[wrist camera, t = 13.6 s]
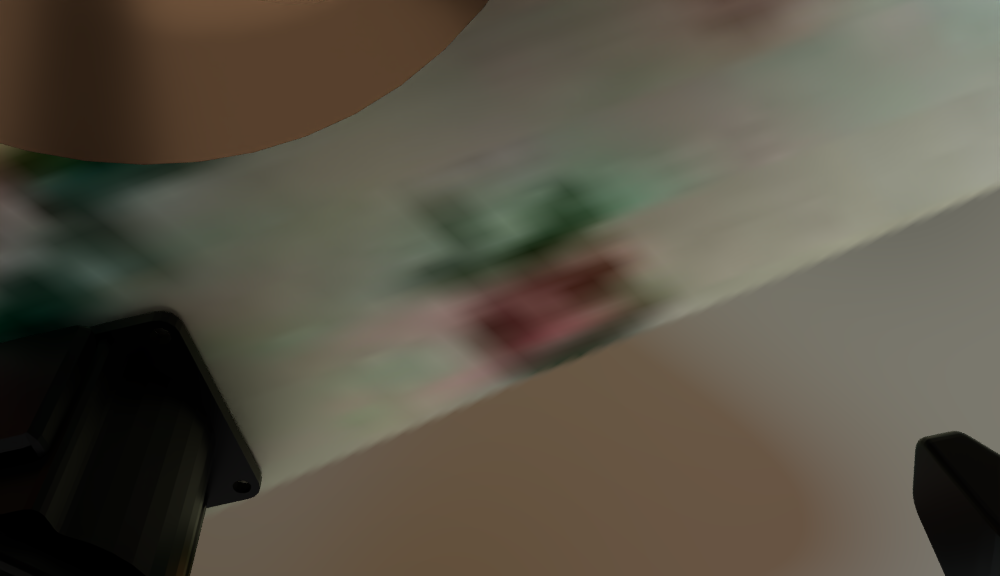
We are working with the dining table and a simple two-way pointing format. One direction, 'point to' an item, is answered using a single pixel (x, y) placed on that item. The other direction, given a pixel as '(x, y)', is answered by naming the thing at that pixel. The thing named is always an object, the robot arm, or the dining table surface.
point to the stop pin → (204, 71)
